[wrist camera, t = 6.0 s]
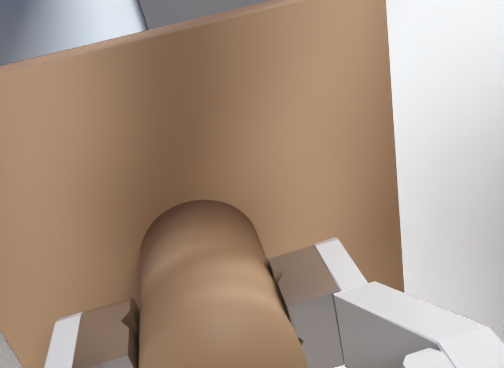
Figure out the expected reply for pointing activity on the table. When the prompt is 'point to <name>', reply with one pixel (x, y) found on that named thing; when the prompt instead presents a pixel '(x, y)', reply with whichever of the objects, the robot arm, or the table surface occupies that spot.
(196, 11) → the mat
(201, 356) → the lid
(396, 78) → the table surface
